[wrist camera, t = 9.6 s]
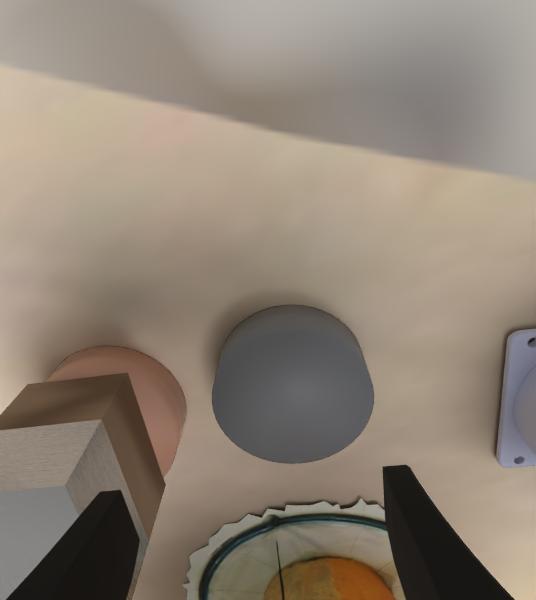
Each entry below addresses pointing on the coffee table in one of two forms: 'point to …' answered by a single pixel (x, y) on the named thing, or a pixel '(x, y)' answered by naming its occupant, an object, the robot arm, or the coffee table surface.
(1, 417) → the housing
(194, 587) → the decorative vase
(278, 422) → the stand
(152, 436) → the stand
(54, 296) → the coffee table surface
